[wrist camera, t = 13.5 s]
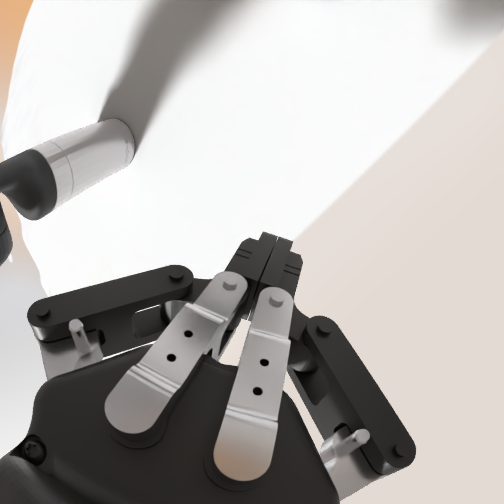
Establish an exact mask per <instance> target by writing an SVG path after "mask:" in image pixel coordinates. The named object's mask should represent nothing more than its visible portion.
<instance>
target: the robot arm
mask: <svg viewBox="0 0 504 504" xmlns="http://www.w3.org/2000/svg"><path fill="white" fill-rule="evenodd" d="M134 150H135V144H134V138H133V135H132V133H131V131H130V129H129V128H128V127H127V125H126V124H125V123H123V122H122V121H120V120H118V119H108V120H104V121H101V122H98V123H95V124H92V125H89V126H86V127H83V128H80V129H78V130H75V131H72V132H69V133H67V134H64V135H62V136H59V137H57V138H54V139H52V140H49V141H47V142H44V143H42V144H40V145H38V146H35V147H33V148H31V149H28V150H26V151H24V152H22V153H20V154H18V155H16V156H14V157H12V158H9V159H7V160H5V161H3V162H1V163H0V193H1V192H2V193H3V194H4V195H5V196H6V197H7V198H8V199H9V200H10V202H11V203H12V204H13V206H14V207H15V208H16V210H17V211H18V212H19V213H20V214H21V215H22V216H24V217H25V218H27V219H29V220H38V219H41V218H42V217H44V216H45V215H47V214H48V213H50V212H51V211H53V210H54V209H56V208H57V207H59V206H61V205H62V204H64V203H65V202H67V201H68V200H70V199H71V198H73V197H75V196H76V195H78V194H79V193H81V192H83V191H84V190H86V189H88V188H89V187H91V186H93V185H95V184H96V183H98V182H100V181H101V180H103V179H105V178H107V177H109V176H110V175H112V174H114V173H116V172H118V171H119V170H121V169H123V168H125V167H126V166H128V165H129V164H130V162H131V160H132V158H133V155H134ZM277 237H278V236H275V235H272V234H269V233H266V232H263V233H262V235H261V237H260V238H259V240H255V239H252V238H248V239H246V240H244V241H243V242H242V243H241V244H240V246H239V248H238V249H237V251H236V253H235V254H234V256H233V258H232V259H231V261H230V263H229V264H228V266H227V267H226V269H225V271H224V272H221V273H218V274H217V275H216V276H215V277H214V278H213V279H197V278H193V273H192V272H191V271H190V270H189V269H188V268H186V267H184V266H181V265H169V266H165V267H162V268H158V269H154V270H150V271H146V272H142V273H138V274H135V275H131V276H127V277H123V278H119V279H116V280H112V281H108V282H104V283H100V284H97V285H93V286H89V287H85V288H81V289H78V290H74V291H70V292H66V293H63V294H59V295H55V296H51V297H48V298H44V299H41V300H38V301H36V302H34V303H33V304H32V305H31V307H30V308H29V310H28V313H27V318H28V321H29V323H30V325H31V327H32V329H33V331H34V335H35V337H36V339H37V341H38V343H39V345H40V349H41V354H42V359H43V363H44V368H45V372H46V377H47V382H45V383H44V384H43V385H42V386H41V388H40V389H39V391H38V392H37V394H36V397H35V400H34V406H33V415H32V421H31V424H30V428H29V431H28V433H27V435H26V437H25V438H24V440H23V441H22V442H21V443H20V444H19V445H18V446H17V447H15V448H14V449H13V450H11V451H10V452H9V453H7V454H6V455H5V456H3V457H2V458H1V459H0V504H340V501H341V500H343V499H344V498H346V497H348V496H350V495H352V494H353V493H355V492H357V491H358V490H360V489H362V488H363V487H365V486H367V485H368V484H370V483H371V482H373V481H376V480H378V479H381V478H383V477H385V476H388V475H390V474H392V473H394V472H397V471H399V470H401V469H403V468H405V467H407V466H409V465H410V464H411V463H412V462H413V460H414V458H415V455H416V446H415V444H414V441H413V440H412V438H411V436H410V435H409V433H408V432H407V430H406V428H405V427H404V425H403V424H402V422H401V421H400V419H399V417H398V416H397V415H396V413H395V411H394V410H393V408H392V406H391V405H390V403H389V402H388V400H387V399H386V397H385V396H384V394H383V393H382V391H381V390H380V388H379V387H378V385H377V383H376V382H375V380H374V379H373V377H372V376H371V374H370V373H369V372H368V370H367V369H366V367H365V365H364V364H363V362H362V361H361V359H360V358H359V356H358V355H357V353H356V352H355V350H354V349H353V348H352V346H351V344H350V343H349V341H348V340H347V339H346V337H345V336H344V334H343V333H342V331H341V330H340V328H339V327H338V325H337V324H336V323H335V322H334V321H333V320H331V319H329V318H327V317H325V316H314V317H312V318H308V317H307V316H305V315H304V314H302V313H301V312H300V311H299V310H298V309H297V308H296V306H295V304H294V295H295V291H296V287H297V284H298V280H299V276H300V272H301V268H302V264H303V261H302V258H301V255H299V254H296V253H293V252H290V249H291V246H292V243H293V241H290V240H287V239H284V238H281V237H278V240H277ZM276 241H277V242H276ZM275 244H276V245H275ZM12 246H13V242H12V238H11V234H10V231H9V228H8V225H7V222H6V219H5V216H4V213H3V209H2V206H1V203H0V266H1V265H2V263H3V262H4V261H5V260H6V259H7V257H8V256H9V254H10V252H11V250H12ZM159 304H160V306H156V305H159ZM152 306H156V307H153V308H150V309H147V310H143V311H140V312H137V311H139V310H142V309H146V308H149V307H152ZM250 311H251V313H250ZM135 312H137V313H135ZM249 313H250V316H249ZM248 316H249V319H248V320H249V321H251V324H250V327H249V331H248V334H247V337H246V340H245V343H244V347H243V350H242V354H241V357H240V360H239V364H238V366H232V365H224V364H221V363H219V362H218V361H219V359H220V357H221V356H222V354H223V352H224V351H225V349H226V347H227V345H228V344H229V342H230V340H231V338H232V337H233V335H234V333H235V331H236V328H237V326H238V325H239V323H240V321H241V318H242V319H245V320H247V318H248ZM153 341H156V342H155V343H154V344H150V345H145V346H141V345H144V344H147V343H150V342H153ZM138 346H141V347H138ZM135 347H138V348H136V349H133V350H130V351H128V352H125V353H122V354H119V355H116V356H114V357H111V358H108V359H105V360H102V359H103V357H107V356H110V355H113V354H116V353H119V352H122V351H126V350H129V349H132V348H135ZM286 369H287V371H288V374H289V376H290V377H291V379H292V381H293V383H294V385H295V387H296V389H297V391H298V393H299V394H300V396H301V398H302V400H303V402H304V404H305V406H306V408H307V409H308V411H309V413H310V415H311V417H312V419H313V421H314V422H315V424H316V426H317V428H318V430H319V432H320V433H321V435H322V437H323V439H324V442H323V444H322V445H321V448H320V455H319V453H318V451H317V449H316V447H315V444H314V442H313V440H312V438H311V436H310V434H309V432H308V430H307V428H306V426H305V424H304V422H303V420H302V418H301V415H300V413H299V411H298V409H297V407H296V405H295V404H294V402H293V400H292V399H291V398H290V397H289V396H288V394H287V393H285V392H284V391H283V384H284V380H285V374H286ZM320 456H321V457H320Z"/></svg>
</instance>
